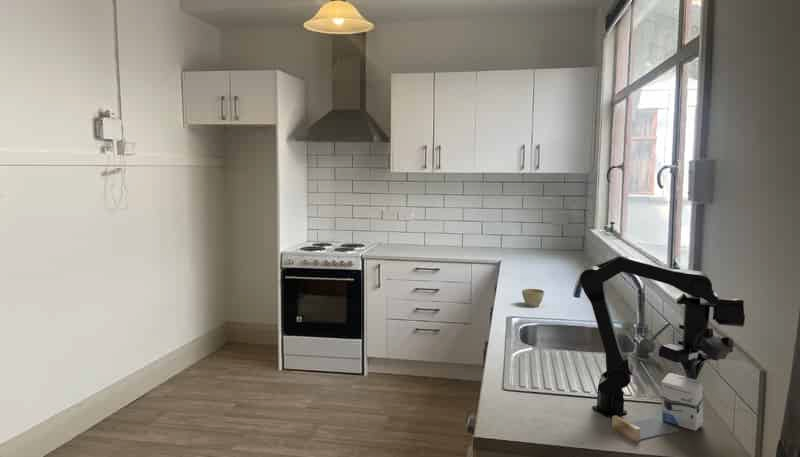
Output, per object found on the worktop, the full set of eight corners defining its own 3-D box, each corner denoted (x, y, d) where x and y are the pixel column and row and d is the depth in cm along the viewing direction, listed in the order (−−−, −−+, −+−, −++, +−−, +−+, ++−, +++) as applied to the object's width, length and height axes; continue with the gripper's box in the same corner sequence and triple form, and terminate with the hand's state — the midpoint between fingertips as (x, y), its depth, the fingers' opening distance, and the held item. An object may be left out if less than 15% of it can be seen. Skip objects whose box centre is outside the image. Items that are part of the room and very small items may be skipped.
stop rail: (611, 427, 150) (612, 416, 149) (615, 426, 150) (616, 415, 150) (636, 441, 142) (636, 429, 142) (639, 440, 143) (640, 428, 142)
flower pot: (530, 302, 284) (531, 287, 283) (548, 306, 276) (548, 291, 275) (517, 305, 277) (517, 290, 277) (534, 309, 270) (535, 294, 269)
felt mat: (615, 426, 150) (615, 425, 150) (653, 418, 155) (654, 417, 155) (639, 440, 143) (640, 439, 143) (679, 431, 148) (679, 430, 148)
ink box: (661, 421, 154) (659, 380, 150) (669, 411, 157) (667, 371, 154) (696, 431, 148) (695, 390, 144) (703, 421, 151) (702, 380, 148)
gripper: (696, 334, 138) (692, 399, 140) (751, 326, 145) (746, 388, 147) (658, 323, 148) (655, 383, 150) (711, 315, 156) (707, 373, 157)
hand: (692, 382), depth 151 cm, fingers closed
